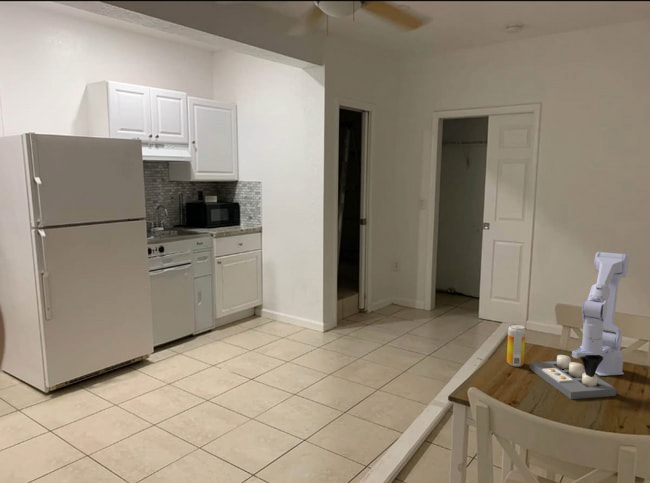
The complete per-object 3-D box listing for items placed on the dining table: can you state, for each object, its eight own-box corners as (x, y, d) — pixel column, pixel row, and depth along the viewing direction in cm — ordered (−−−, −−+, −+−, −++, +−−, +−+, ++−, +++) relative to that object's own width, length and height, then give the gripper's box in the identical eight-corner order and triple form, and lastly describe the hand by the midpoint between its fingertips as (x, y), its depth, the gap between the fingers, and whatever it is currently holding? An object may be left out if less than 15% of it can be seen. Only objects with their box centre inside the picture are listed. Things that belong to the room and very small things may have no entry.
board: (569, 366, 176) (569, 360, 175) (616, 395, 152) (616, 388, 152) (529, 368, 174) (530, 362, 174) (570, 399, 150) (571, 392, 150)
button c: (590, 382, 159) (591, 372, 158) (599, 388, 154) (600, 377, 154) (578, 383, 158) (579, 373, 158) (587, 389, 154) (588, 378, 153)
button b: (577, 372, 165) (578, 361, 165) (585, 377, 161) (586, 366, 160) (565, 372, 165) (566, 362, 164) (573, 378, 160) (574, 367, 160)
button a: (565, 364, 172) (565, 354, 172) (572, 369, 168) (573, 359, 167) (553, 365, 172) (554, 355, 171) (561, 369, 167) (561, 359, 167)
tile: (555, 369, 167) (555, 367, 167) (573, 381, 157) (573, 379, 157) (542, 370, 167) (542, 368, 167) (559, 382, 157) (559, 380, 157)
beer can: (520, 361, 181) (522, 324, 179) (525, 367, 175) (527, 329, 173) (504, 360, 182) (506, 323, 180) (509, 367, 176) (511, 329, 174)
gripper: (599, 330, 160) (596, 368, 162) (565, 335, 155) (563, 373, 157) (617, 337, 153) (614, 376, 155) (583, 342, 149) (580, 382, 151)
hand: (589, 375), depth 156 cm, fingers closed, pressing on button c
